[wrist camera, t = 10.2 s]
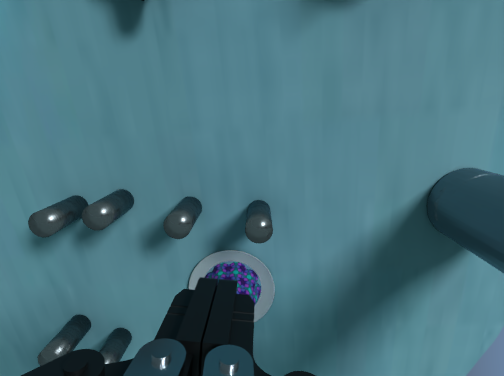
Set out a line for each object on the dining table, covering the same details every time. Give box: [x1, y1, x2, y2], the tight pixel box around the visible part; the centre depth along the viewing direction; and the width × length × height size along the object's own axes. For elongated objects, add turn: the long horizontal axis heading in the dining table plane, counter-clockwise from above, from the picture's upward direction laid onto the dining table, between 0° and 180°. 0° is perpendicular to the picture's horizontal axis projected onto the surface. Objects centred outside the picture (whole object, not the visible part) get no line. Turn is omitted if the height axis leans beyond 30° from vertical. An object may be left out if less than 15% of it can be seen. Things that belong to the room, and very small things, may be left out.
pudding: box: [189, 250, 275, 322], centre depth 42 cm, size 12×12×5 cm
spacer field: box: [28, 189, 273, 366], centre depth 40 cm, size 27×25×7 cm
